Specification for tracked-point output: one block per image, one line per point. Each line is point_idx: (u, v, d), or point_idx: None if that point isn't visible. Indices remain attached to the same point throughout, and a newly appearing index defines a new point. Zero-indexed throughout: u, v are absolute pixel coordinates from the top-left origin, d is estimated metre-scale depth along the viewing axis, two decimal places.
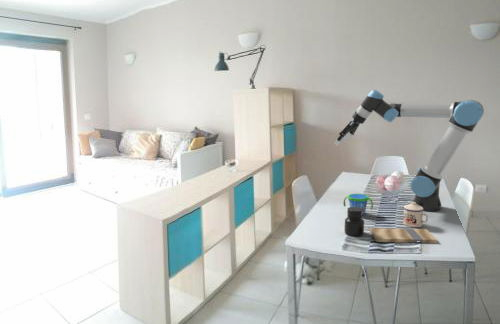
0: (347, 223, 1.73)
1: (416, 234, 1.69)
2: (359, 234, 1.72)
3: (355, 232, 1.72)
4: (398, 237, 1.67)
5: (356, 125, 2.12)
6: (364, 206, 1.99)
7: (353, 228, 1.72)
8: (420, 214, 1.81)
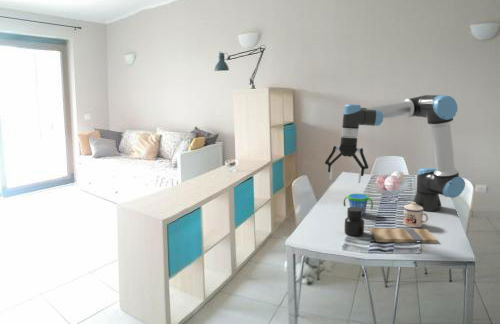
0: (347, 223, 1.73)
1: (416, 234, 1.69)
2: (359, 234, 1.72)
3: (355, 232, 1.72)
4: (398, 237, 1.67)
5: None
6: (364, 206, 1.99)
7: (353, 228, 1.72)
8: (420, 214, 1.81)
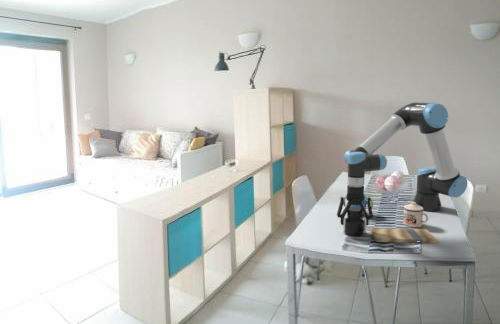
0: (347, 223, 1.73)
1: (416, 234, 1.69)
2: (359, 234, 1.72)
3: (355, 232, 1.72)
4: (398, 237, 1.67)
5: None
6: (364, 206, 1.99)
7: (353, 228, 1.72)
8: (420, 214, 1.81)
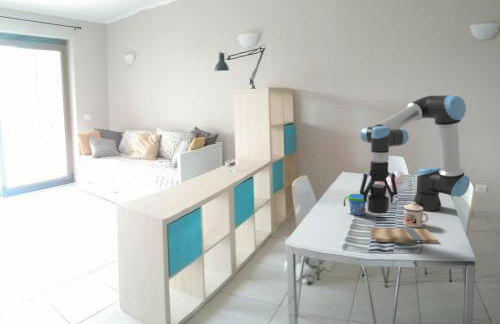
0: (370, 200, 1.68)
1: (416, 234, 1.69)
2: (383, 211, 1.66)
3: (379, 209, 1.66)
4: (398, 237, 1.67)
5: None
6: (364, 206, 1.99)
7: (376, 205, 1.66)
8: (420, 214, 1.81)
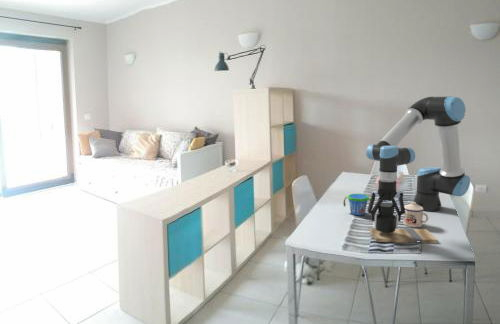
0: (378, 219, 1.68)
1: (416, 234, 1.69)
2: (391, 230, 1.67)
3: (387, 228, 1.66)
4: (398, 237, 1.67)
5: None
6: (364, 206, 1.99)
7: (385, 225, 1.67)
8: (420, 214, 1.81)
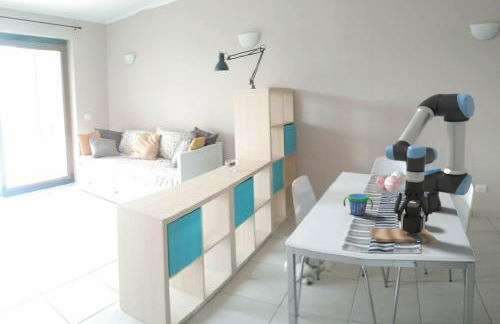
0: (405, 219, 1.67)
1: (416, 234, 1.69)
2: (418, 231, 1.66)
3: (414, 229, 1.65)
4: (398, 237, 1.67)
5: None
6: (364, 206, 1.99)
7: (412, 225, 1.65)
8: (420, 214, 1.81)
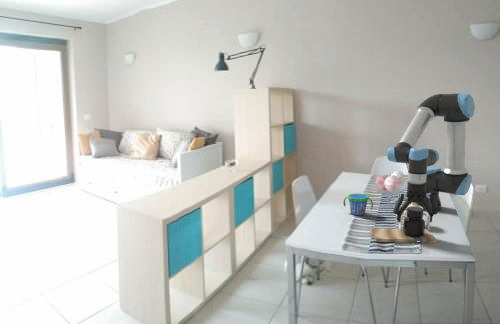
0: (407, 223, 1.67)
1: None
2: (420, 235, 1.66)
3: (416, 233, 1.66)
4: (398, 237, 1.67)
5: None
6: (364, 206, 1.99)
7: (414, 229, 1.66)
8: None
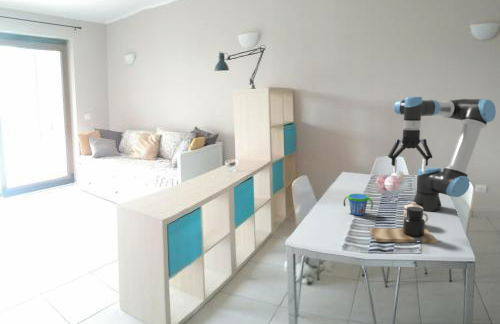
0: (407, 223, 1.67)
1: None
2: (420, 235, 1.66)
3: (416, 233, 1.66)
4: (398, 237, 1.67)
5: None
6: (364, 206, 1.99)
7: (414, 229, 1.66)
8: None
